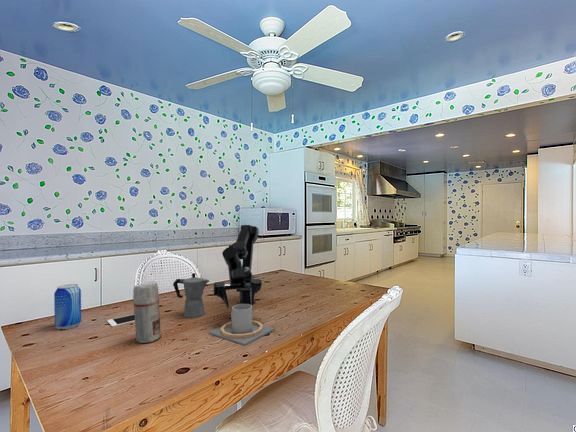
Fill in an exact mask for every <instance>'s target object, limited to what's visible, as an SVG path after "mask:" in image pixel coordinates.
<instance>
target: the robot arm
mask: <svg viewBox="0 0 576 432" xmlns="http://www.w3.org/2000/svg"><path fill="white" fill-rule="evenodd" d="M259 231H260V230H259V228H258V227H257V226H255V225H250V224H242V225H240V231H239V233H238V236H237V239H236V241H235V242H233V243H232V244H229V245H228V246H227V247H226V248H225V249H223V251H222V253H221V254H222V257H223V260H224V262H225V264H226V265H227V268H228V277H229V278H228V279H229V284H225V281H217V282H216V281H215V282H214V283H213V296H217V298H220V299H221V300H222V302H223V303H224V305H225V306H226V308H227V309H229V303H230V302H229V299H228V294H227V291H229V290H231V291H232V290H236V292H238V293H239V302H236V303H237V304H236V305H238V304H249V305H252V306H253V304H255V303H256V301H255V300H254V299H255V294H258V292H260V291H261V289H262V286H263V282H262V280H261V279H260V278H254V275H253V273H252V265H253V264H252V263H253V253H254V244H255V243H256V241H257V240H258V236H259V233H260V232H259Z"/></svg>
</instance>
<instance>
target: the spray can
mask: <svg viewBox="0 0 576 432" xmlns="http://www.w3.org/2000/svg"><path fill="white" fill-rule="evenodd" d="M132 297H133V298H132V301H133V310H134V312H133V314H135V322H134V328H135V329H134V331H135V342H136V343H139V344H147V343H148V344H149V343H151V342H155V341H157V340H159V339H160V338H161V337H162V334H161V316H160V313H161V312H160V310H161V309H160V296H159V286H158V283H157V282H156V281H155V280H150V281H148V282H144V283H142V284H139V285H134V287H133V294H132Z"/></svg>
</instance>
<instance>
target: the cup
mask: <svg viewBox="0 0 576 432" xmlns="http://www.w3.org/2000/svg"><path fill="white" fill-rule="evenodd" d="M230 318H231V322H232V330H233V333H234V334H246V333H250V332H251V331H252V320H253V305H249V304H235V305H233V306H232V307H231V312H230Z"/></svg>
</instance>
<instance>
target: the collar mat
mask: <svg viewBox="0 0 576 432" xmlns="http://www.w3.org/2000/svg"><path fill="white" fill-rule="evenodd" d="M275 330H276V329H275V327H274V328H273V327H271V326H266V325H264V324H262V323H261V322H260V321H257V320H253V319H252V331H251V332H250V333H246V334H234V333H233V330H232V321H228V322H227V323H224V324H223V325H222V326H219V327H217V328H215V329H212V330H210V331H208V335H211V336H214V337H218V338H220V339H223V340H226V341H229V342H232V343H236V344H238V345H242V346H244V347H245V346H247V345H249V344H251V343H253V342H255V341H257V340H259V339H260V338H262V337H264V336H266V335H268V334H270V333H272V332H273V331H275Z"/></svg>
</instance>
